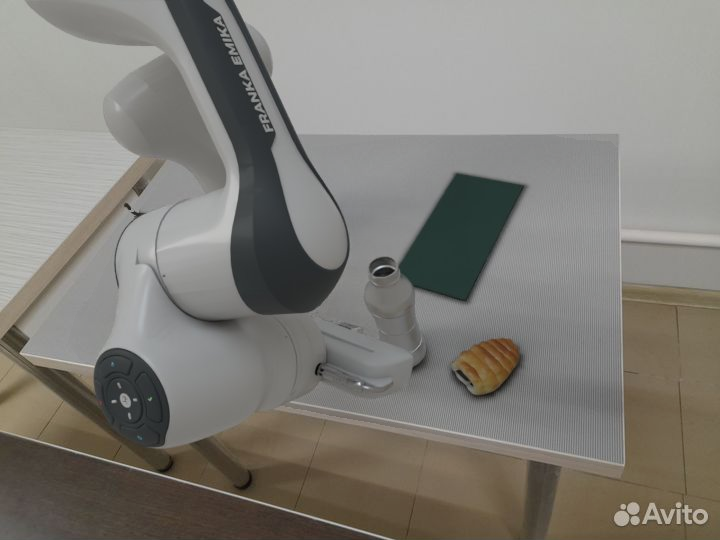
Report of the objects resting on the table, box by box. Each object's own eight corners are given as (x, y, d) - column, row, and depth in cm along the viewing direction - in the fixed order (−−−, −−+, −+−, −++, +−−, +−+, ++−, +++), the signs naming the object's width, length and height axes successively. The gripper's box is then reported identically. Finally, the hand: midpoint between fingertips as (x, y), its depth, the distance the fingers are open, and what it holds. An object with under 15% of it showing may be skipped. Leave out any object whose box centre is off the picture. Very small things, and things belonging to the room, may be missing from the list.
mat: (465, 301, 81) (465, 299, 81) (391, 279, 87) (391, 278, 87) (523, 186, 96) (523, 185, 95) (456, 174, 101) (456, 173, 101)
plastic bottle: (425, 376, 74) (406, 288, 60) (379, 372, 76) (350, 287, 61) (430, 338, 78) (414, 247, 64) (386, 335, 80) (360, 246, 65)
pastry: (497, 334, 76) (497, 319, 74) (532, 365, 72) (533, 350, 69) (447, 370, 74) (445, 356, 71) (480, 405, 70) (479, 391, 67)
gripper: (383, 359, 42) (441, 333, 55) (202, 291, 52) (287, 281, 64) (367, 430, 43) (428, 389, 56) (193, 350, 53) (278, 330, 65)
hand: (351, 331), depth 60 cm, fingers closed
